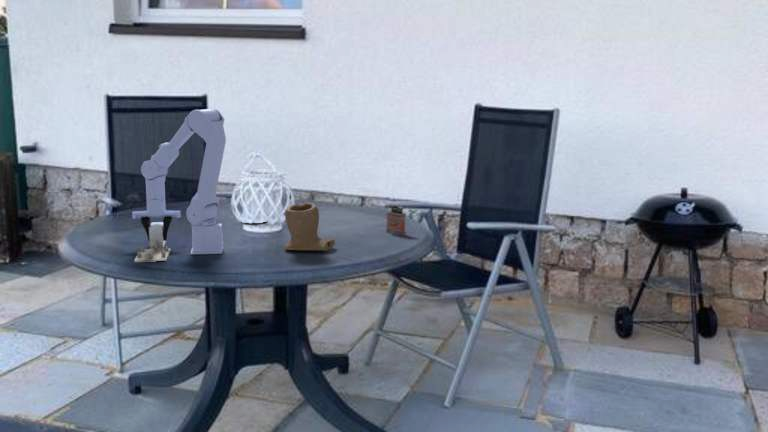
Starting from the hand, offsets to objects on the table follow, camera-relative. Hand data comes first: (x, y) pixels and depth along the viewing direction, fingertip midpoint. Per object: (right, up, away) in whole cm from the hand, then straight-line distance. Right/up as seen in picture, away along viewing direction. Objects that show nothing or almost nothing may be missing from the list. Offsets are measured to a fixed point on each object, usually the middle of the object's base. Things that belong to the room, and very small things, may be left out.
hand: (157, 240), depth 252 cm
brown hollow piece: (+48, -4, -3) cm, 48 cm away
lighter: (+76, +1, +24) cm, 80 cm away
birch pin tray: (+2, -5, -12) cm, 13 cm away
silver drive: (0, -2, 0) cm, 2 cm away
